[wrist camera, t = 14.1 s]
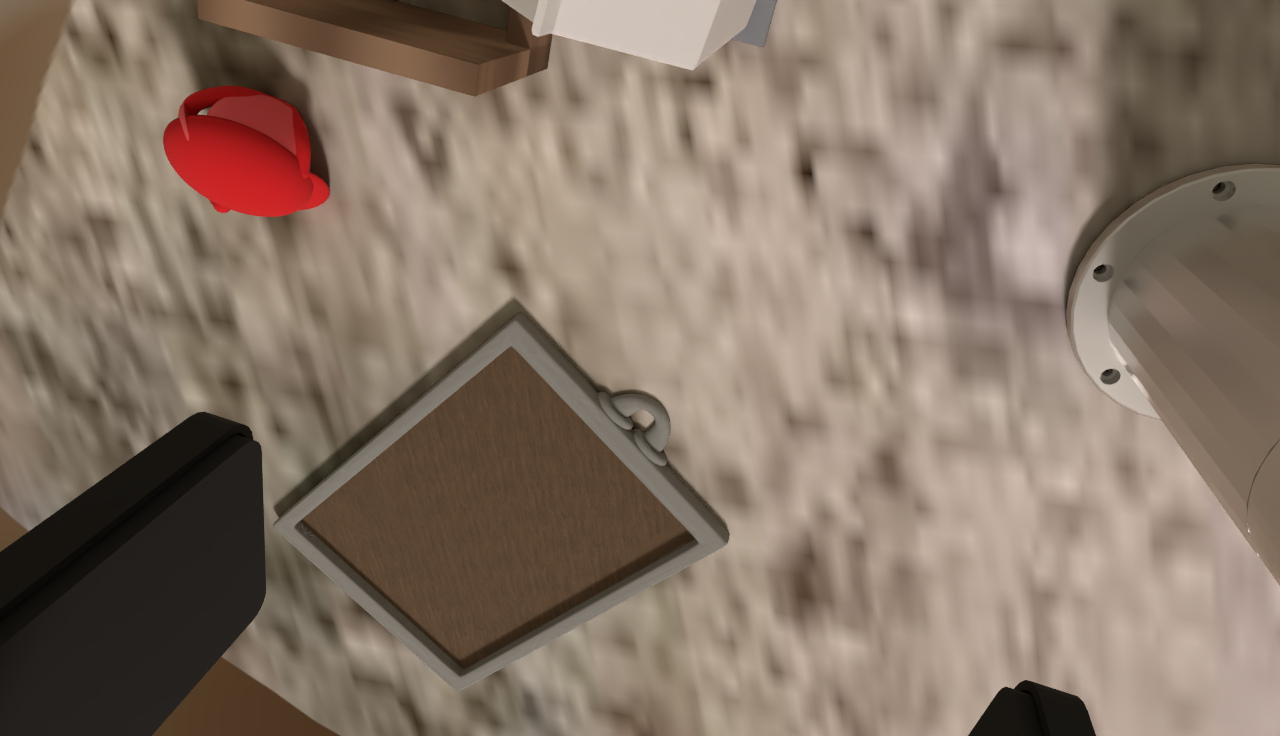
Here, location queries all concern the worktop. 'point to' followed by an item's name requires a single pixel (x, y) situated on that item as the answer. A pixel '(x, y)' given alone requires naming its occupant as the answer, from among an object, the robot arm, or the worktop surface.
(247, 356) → the worktop surface
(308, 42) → the rack
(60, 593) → the robot arm
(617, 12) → the milk carton
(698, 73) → the worktop surface
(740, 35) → the pad
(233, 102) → the red rounded piece
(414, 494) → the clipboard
